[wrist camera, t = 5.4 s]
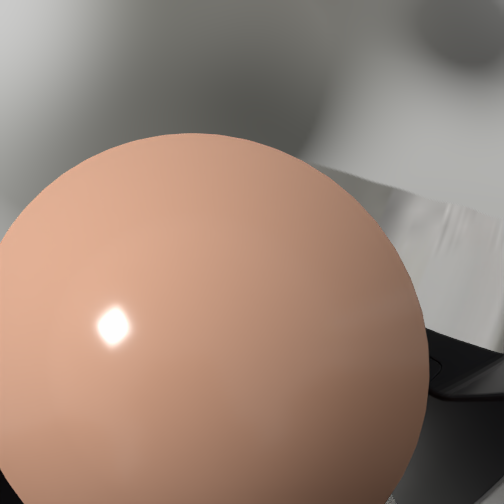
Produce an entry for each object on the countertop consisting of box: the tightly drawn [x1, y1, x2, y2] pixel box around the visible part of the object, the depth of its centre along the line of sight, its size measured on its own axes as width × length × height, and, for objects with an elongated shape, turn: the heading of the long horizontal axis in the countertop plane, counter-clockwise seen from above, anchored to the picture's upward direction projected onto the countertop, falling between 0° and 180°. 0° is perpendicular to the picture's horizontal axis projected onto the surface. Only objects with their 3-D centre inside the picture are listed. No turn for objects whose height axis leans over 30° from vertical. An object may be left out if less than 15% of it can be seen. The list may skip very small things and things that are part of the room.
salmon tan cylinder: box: [0, 133, 429, 504], centre depth 9 cm, size 6×6×13 cm
